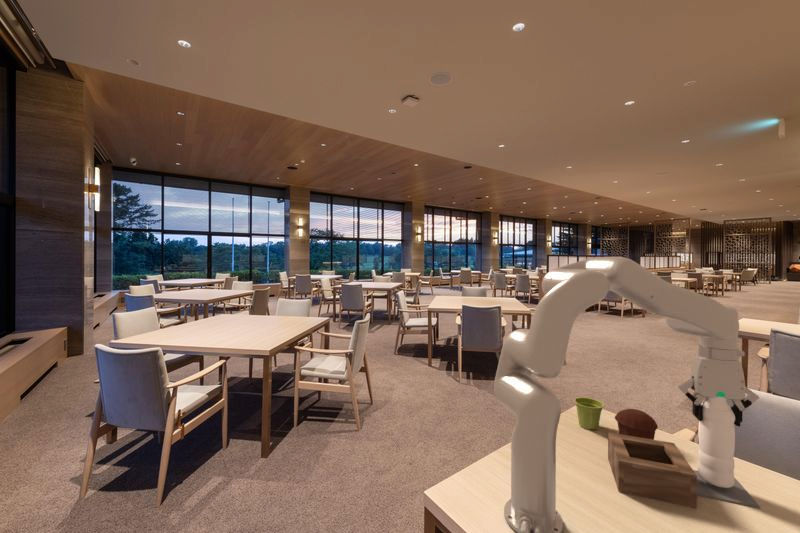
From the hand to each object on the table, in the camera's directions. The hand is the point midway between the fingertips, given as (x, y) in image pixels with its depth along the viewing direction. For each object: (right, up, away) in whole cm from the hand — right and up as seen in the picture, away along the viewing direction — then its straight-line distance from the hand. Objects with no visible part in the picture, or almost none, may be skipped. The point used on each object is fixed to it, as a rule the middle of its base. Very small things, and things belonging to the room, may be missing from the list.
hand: (716, 420), depth 90 cm
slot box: (-16, -17, +3) cm, 24 cm away
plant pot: (-15, -17, +34) cm, 41 cm away
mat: (0, -17, 0) cm, 17 cm away
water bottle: (0, -16, 0) cm, 16 cm away
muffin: (-5, -17, +23) cm, 30 cm away
